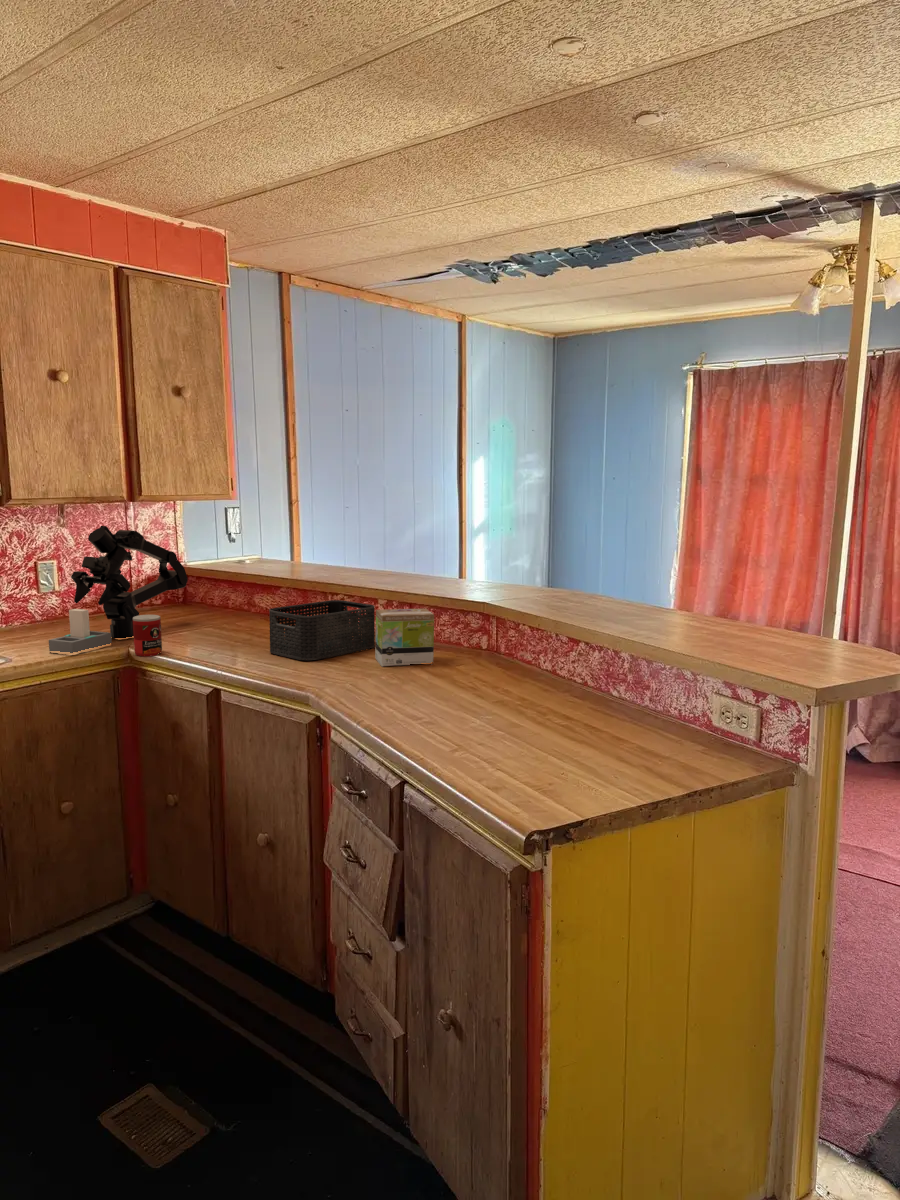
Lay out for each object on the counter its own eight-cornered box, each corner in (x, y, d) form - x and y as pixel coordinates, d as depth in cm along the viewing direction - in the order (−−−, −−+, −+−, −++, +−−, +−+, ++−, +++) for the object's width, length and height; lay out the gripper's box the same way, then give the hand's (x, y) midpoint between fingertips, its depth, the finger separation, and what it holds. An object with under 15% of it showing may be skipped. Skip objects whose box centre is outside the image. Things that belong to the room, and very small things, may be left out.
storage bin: (337, 639, 268) (336, 597, 265) (379, 647, 255) (379, 604, 253) (265, 653, 246) (263, 609, 244) (307, 664, 234) (306, 617, 232)
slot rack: (89, 643, 258) (88, 629, 257) (111, 645, 255) (111, 632, 254) (49, 653, 244) (48, 639, 243) (72, 655, 241) (71, 641, 240)
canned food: (144, 658, 239) (142, 620, 237) (128, 654, 244) (126, 617, 242) (167, 653, 245) (166, 616, 243) (152, 649, 250) (150, 613, 248)
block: (77, 647, 251) (75, 608, 249) (90, 649, 249) (88, 609, 248) (71, 649, 249) (68, 610, 247) (84, 651, 247) (81, 611, 245)
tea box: (381, 667, 229) (381, 615, 227) (375, 659, 239) (374, 608, 237) (434, 664, 233) (434, 612, 231) (425, 656, 243) (426, 606, 241)
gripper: (73, 545, 255) (46, 585, 247) (121, 547, 249) (96, 589, 241) (94, 567, 264) (69, 607, 256) (141, 570, 257) (117, 611, 249)
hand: (87, 603), depth 250 cm, fingers open, 9 cm apart
